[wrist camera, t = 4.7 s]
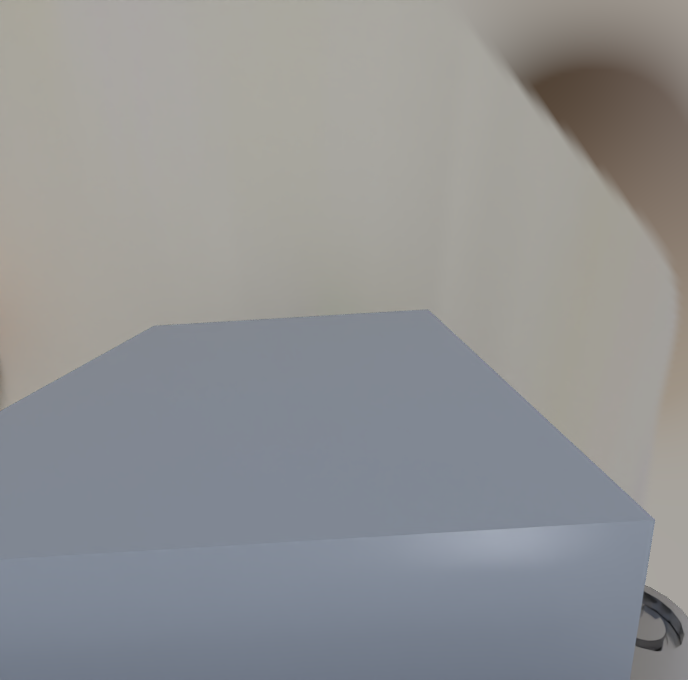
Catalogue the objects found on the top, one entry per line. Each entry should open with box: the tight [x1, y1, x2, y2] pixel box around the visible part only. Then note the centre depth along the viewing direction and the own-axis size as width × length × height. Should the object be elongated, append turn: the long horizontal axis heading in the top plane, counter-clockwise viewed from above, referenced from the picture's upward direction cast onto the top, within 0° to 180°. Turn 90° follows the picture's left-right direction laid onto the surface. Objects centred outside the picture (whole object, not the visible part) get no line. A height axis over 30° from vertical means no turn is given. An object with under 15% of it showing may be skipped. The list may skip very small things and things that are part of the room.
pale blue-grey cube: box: [0, 310, 655, 680], centre depth 9 cm, size 8×8×9 cm
